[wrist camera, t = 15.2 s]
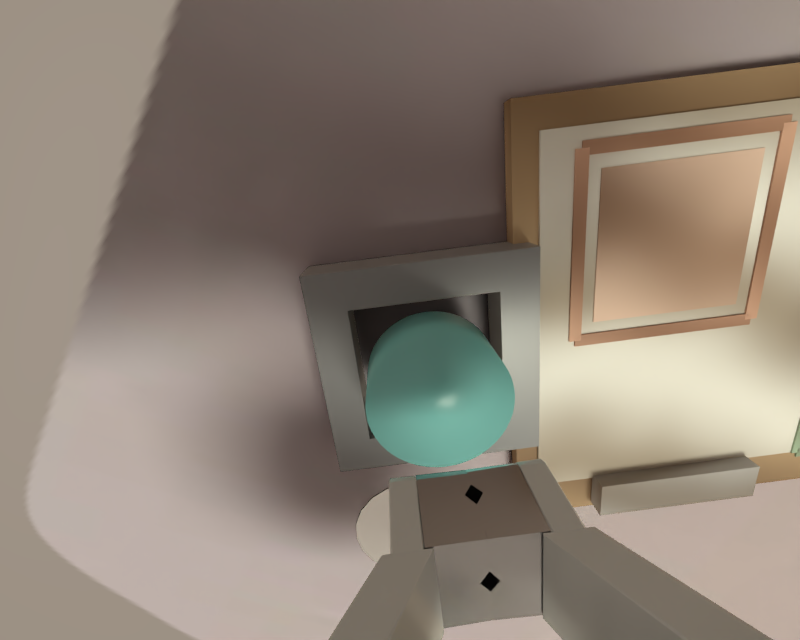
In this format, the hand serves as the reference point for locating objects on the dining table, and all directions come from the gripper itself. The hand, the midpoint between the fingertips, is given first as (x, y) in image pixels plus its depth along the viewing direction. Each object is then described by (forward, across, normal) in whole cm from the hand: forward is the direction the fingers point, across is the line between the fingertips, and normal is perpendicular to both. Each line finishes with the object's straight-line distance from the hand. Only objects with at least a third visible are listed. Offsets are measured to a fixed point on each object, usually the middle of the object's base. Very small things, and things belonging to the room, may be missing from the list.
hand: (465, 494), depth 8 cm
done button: (+5, 0, 0) cm, 5 cm away
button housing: (+6, 0, 0) cm, 6 cm away
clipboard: (+6, -12, 0) cm, 14 cm away
